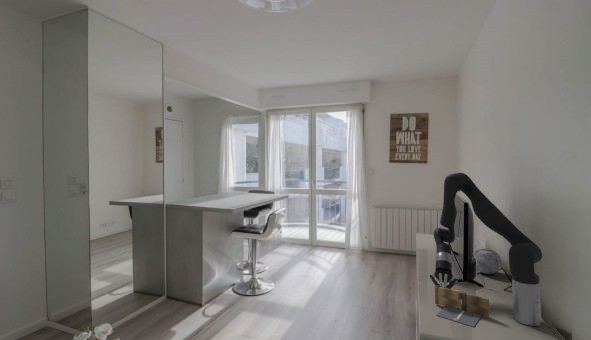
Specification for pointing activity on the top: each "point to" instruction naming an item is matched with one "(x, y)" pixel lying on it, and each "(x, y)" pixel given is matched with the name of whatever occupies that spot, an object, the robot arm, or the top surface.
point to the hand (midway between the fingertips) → (443, 296)
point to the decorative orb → (487, 261)
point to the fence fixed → (475, 304)
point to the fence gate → (448, 297)
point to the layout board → (459, 315)
